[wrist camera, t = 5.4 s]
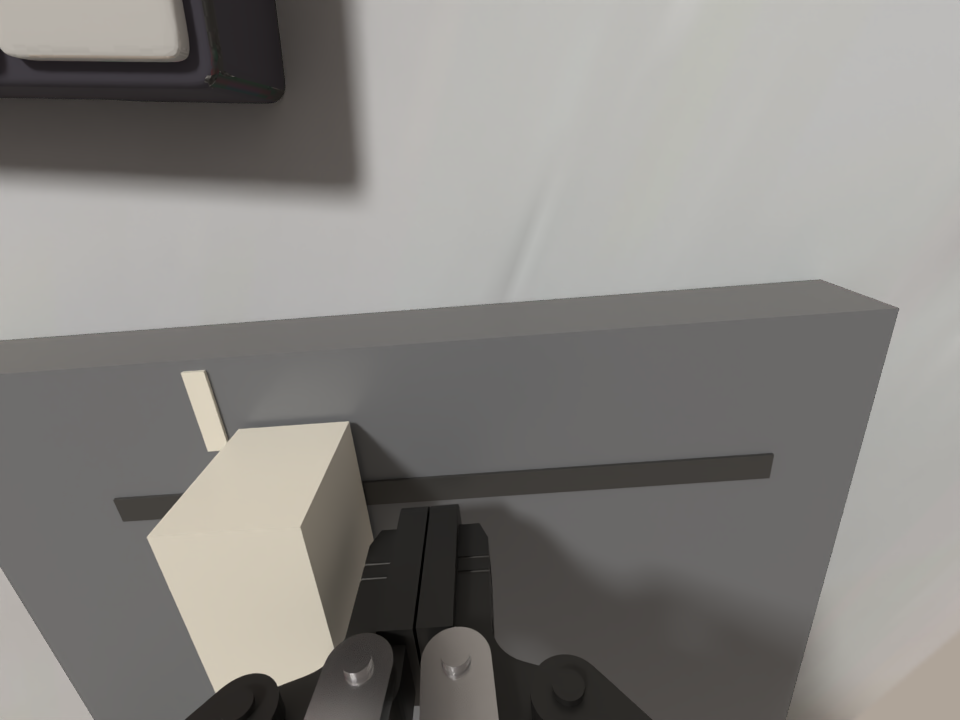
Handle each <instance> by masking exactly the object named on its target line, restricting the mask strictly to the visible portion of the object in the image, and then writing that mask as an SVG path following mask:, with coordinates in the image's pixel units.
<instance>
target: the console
mask: <svg viewBox="0 0 960 720" xmlns="http://www.w3.org/2000/svg"><path fill="white" fill-rule="evenodd" d="M898 311H899V308H897V307H894V306H892V305H889V304H886V303H883V302H881V301H878V300H875V299H873V298H870V297H867V296H864V295H862V294H859V293H856V292H853V291H851V290H848V289H845V288H842V287H840V286H837V285H834V284H831V283H829V282H826V281H823V280H808V281H795V282H781V283H768V284H754V285H741V286H727V287H714V288H701V289H687V290H674V291H660V292H647V293H634V294H620V295H607V296H593V297H580V298H566V299H553V300H540V301H526V302H513V303H499V304H486V305H472V306H459V307H446V308H432V309H419V310H405V311H392V312H378V313H365V314H352V315H338V316H325V317H311V318H298V319H285V320H271V321H258V322H244V323H231V324H217V325H204V326H191V327H177V328H164V329H150V330H137V331H123V332H110V333H97V334H83V335H70V336H56V337H43V338H29V339H16V340H3V341H0V567H1V569H2V570H3V572H4V574H5V575H6V577H7V578H8V580H9V582H10V583H11V585H12V587H13V588H14V590H15V591H16V593H17V595H18V596H19V598H20V600H21V601H22V603H23V605H24V606H25V608H26V609H27V611H28V613H29V614H30V616H31V618H32V619H33V621H34V622H35V624H36V626H37V627H38V629H39V631H40V632H41V634H42V636H43V637H44V639H45V640H46V642H47V644H48V645H49V647H50V649H51V650H52V652H53V653H54V655H55V657H56V658H57V660H58V662H59V663H60V665H61V666H62V668H63V670H64V671H65V673H66V675H67V676H68V678H69V680H70V681H71V683H72V684H73V686H74V688H75V689H76V691H77V693H78V694H79V696H80V697H81V699H82V701H83V702H84V704H85V706H86V707H87V709H88V711H89V712H90V714H91V715H92V717H93V719H94V720H185V719H186V718H187V717H188V716H190V715H191V714H192V713H193V712H194V711H195V710H197V709H198V708H199V707H200V706H201V705H202V704H204V703H205V702H206V701H207V700H208V699H209V698H211V697H212V696H213V695H214V694H215V691H214V688H213V686H212V684H211V682H210V679H209V677H208V675H207V673H206V670H205V668H204V666H203V664H202V661H201V659H200V657H199V655H198V652H197V650H196V648H195V645H194V643H193V641H192V639H191V636H190V634H189V632H188V630H187V627H186V625H185V623H184V621H183V618H182V616H181V614H180V612H179V609H178V607H177V605H176V603H175V600H174V598H173V596H172V593H171V591H170V589H169V587H168V584H167V582H166V580H165V578H164V575H163V573H162V571H161V569H160V566H159V564H158V562H157V560H156V557H155V555H154V553H153V550H152V548H151V546H150V544H149V541H148V539H147V536H148V535H149V534H150V532H151V531H152V530H153V529H154V528H155V527H156V525H157V524H158V523H159V522H160V521H161V520H162V518H163V517H164V516H165V515H166V514H167V513H168V511H169V510H170V509H171V508H172V507H173V505H174V504H175V503H176V502H177V501H178V500H179V498H180V497H181V496H182V495H183V494H184V493H185V491H186V490H187V489H188V488H189V487H190V486H191V484H192V483H193V482H194V481H195V480H196V478H197V477H198V476H199V475H200V474H201V473H202V471H203V470H204V469H205V468H206V467H207V466H208V464H209V463H210V462H211V461H212V460H213V458H214V457H215V456H216V455H217V454H218V453H219V451H220V450H221V449H222V448H223V447H224V446H225V444H226V443H227V442H228V441H229V440H230V439H231V437H232V436H233V435H234V434H235V433H236V431H237V430H238V429H246V428H260V427H275V426H289V425H303V424H317V423H331V422H345V421H349V423H350V428H351V433H352V437H353V442H354V447H355V452H356V457H357V462H358V467H359V471H360V476H361V481H362V486H363V491H364V496H365V500H366V505H367V510H368V515H369V520H370V525H371V530H372V534H373V539H374V540H375V538H376V537H377V536H378V534H379V533H380V532H381V530H392V529H397V525H398V520H399V516H400V511H401V509H402V508H411V507H425V506H430V508H431V506H437V505H451V504H459V507H460V514H461V522H462V524H474V523H480V525H481V526H482V528H483V530H484V531H485V533H486V535H487V536H488V541H489V552H490V562H491V573H492V586H493V609H494V631H495V640H496V642H497V643H498V645H499V646H500V647H501V648H502V649H503V650H504V651H505V652H506V653H507V654H509V655H510V656H512V657H514V658H516V659H518V660H521V661H524V662H528V663H532V664H535V665H540V664H541V663H542V662H543V661H544V660H546V659H548V658H550V657H552V656H555V655H561V654H568V655H574V656H577V657H580V658H582V659H584V660H586V661H588V662H589V663H590V664H592V665H593V666H594V667H595V668H596V669H597V670H598V671H600V672H601V673H602V674H603V675H604V676H605V677H606V678H607V679H608V680H609V681H611V682H612V683H613V684H614V685H615V686H616V687H617V688H618V689H619V690H620V691H622V692H623V693H624V694H625V695H626V696H627V697H628V698H629V699H630V700H631V701H633V702H634V703H635V704H636V705H637V706H638V707H639V708H640V709H641V710H642V711H644V712H645V713H646V714H647V715H648V716H649V717H650V718H651V719H652V720H786V717H787V713H788V710H789V706H790V702H791V699H792V695H793V691H794V688H795V684H796V681H797V677H798V673H799V670H800V666H801V662H802V659H803V655H804V652H805V648H806V644H807V641H808V637H809V633H810V630H811V626H812V623H813V619H814V615H815V612H816V608H817V604H818V601H819V597H820V594H821V590H822V586H823V583H824V579H825V575H826V572H827V568H828V565H829V561H830V557H831V554H832V550H833V546H834V543H835V539H836V536H837V532H838V528H839V525H840V521H841V517H842V514H843V510H844V507H845V503H846V499H847V496H848V492H849V488H850V485H851V481H852V478H853V474H854V470H855V467H856V463H857V459H858V456H859V452H860V449H861V445H862V441H863V438H864V434H865V431H866V427H867V423H868V420H869V416H870V412H871V409H872V405H873V402H874V398H875V394H876V391H877V387H878V383H879V380H880V376H881V373H882V369H883V365H884V362H885V358H886V354H887V351H888V347H889V344H890V340H891V336H892V333H893V329H894V325H895V322H896V318H897V315H898ZM419 713H420V706H414V712H413V720H419Z"/></svg>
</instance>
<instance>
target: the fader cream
mask: <svg viewBox="0 0 960 720" xmlns="http://www.w3.org/2000/svg"><path fill="white" fill-rule="evenodd" d="M147 539H148V541H149V544H150V546H151V548H152V550H153V553H154V555H155V557H156V560H157V562H158V564H159V566H160V569H161V571H162V573H163V575H164V578H165V580H166V582H167V584H168V587H169V589H170V591H171V593H172V596H173V598H174V600H175V603H176V605H177V607H178V609H179V612H180V614H181V616H182V618H183V621H184V623H185V625H186V627H187V630H188V632H189V634H190V636H191V639H192V641H193V643H194V645H195V648H196V650H197V652H198V655H199V657H200V659H201V661H202V664H203V666H204V668H205V670H206V673H207V675H208V677H209V679H210V682H211V684H212V686H213V688H214V691H215V693H217V692H218V691H219V690H220V689H221V688H223V687H224V686H225V685H226V684H228V683H229V682H231V681H233V680H234V679H237V678H239V677H241V676H244V675H247V674H252V673H261V674H266V675H268V676H270V677H271V678H273V679H274V681H275V682H276V684H277V686H280V685H283V684H286V683H288V682H291V681H293V680H296V679H299V678H301V677H304V676H306V675H309V674H311V673H313V672H315V671H317V670H318V669H320V668H321V667H323V666H324V663H325V661H326V659H327V657H328V656H329V654H330V653H331V652H332V650H333V649H334V648H335V647H336V646H337V645H338V644H340V643H341V642H342V641H344V639H345V636H346V633H347V629H348V625H349V622H350V618H351V614H352V610H353V607H354V603H355V599H356V595H357V591H358V588H359V584H360V581H361V576H362V573H363V569H364V567H365V561H366V558H367V554H368V550H369V546H370V545H371V543H372V542H373V541H374V539H373V534H372V530H371V525H370V520H369V515H368V510H367V505H366V500H365V496H364V491H363V486H362V481H361V476H360V471H359V467H358V462H357V457H356V452H355V447H354V442H353V437H352V433H351V428H350V423H349V421H345V422H331V423H317V424H303V425H289V426H275V427H260V428H246V429H238V430H237V431H236V433H235V434H234V435H233V436H232V437H231V439H230V440H229V441H228V442H227V443H226V444H225V446H224V447H223V448H222V449H221V450H220V451H219V453H218V454H217V455H216V456H215V457H214V458H213V460H212V461H211V462H210V463H209V464H208V466H207V467H206V468H205V469H204V470H203V471H202V473H201V474H200V475H199V476H198V477H197V478H196V480H195V481H194V482H193V483H192V484H191V486H190V487H189V488H188V489H187V490H186V491H185V493H184V494H183V495H182V496H181V497H180V498H179V500H178V501H177V502H176V503H175V504H174V505H173V507H172V508H171V509H170V510H169V511H168V513H167V514H166V515H165V516H164V517H163V518H162V520H161V521H160V522H159V523H158V524H157V525H156V527H155V528H154V529H153V530H152V531H151V532H150V534H149V535H148V536H147Z"/></svg>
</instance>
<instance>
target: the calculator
mask: <svg viewBox="0 0 960 720" xmlns="http://www.w3.org/2000/svg"><path fill="white" fill-rule="evenodd" d="M284 91H285V78H284V69H283V60H282V52H281V44H280V36H279V28H278V20H277V11H276V3H275V0H0V98H48V99H105V100H126V101H155V102H207V103H274V102H277V101H278V100H280V99H281V98H282V96H283V94H284Z"/></svg>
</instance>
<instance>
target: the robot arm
mask: <svg viewBox="0 0 960 720" xmlns="http://www.w3.org/2000/svg"><path fill="white" fill-rule="evenodd" d="M414 706H420V713H419V720H652V719H651V718H650V717H649V716H648V715H647V714H646V713H645V712H644V711H642V710H641V709H640V708H639V707H638V706H637V705H636V704H635V703H634V702H633V701H631V700H630V699H629V698H628V697H627V696H626V695H625V694H624V693H623V692H622V691H620V690H619V689H618V688H617V687H616V686H615V685H614V684H613V683H612V682H611V681H609V680H608V679H607V678H606V677H605V676H604V675H603V674H602V673H601V672H600V671H598V670H597V669H596V668H595V667H594V666H593V665H592V664H590V663H589V662H588V661H586V660H584V659H582V658H580V657H577V656H574V655H568V654H561V655H555V656H552V657H550V658H548V659H546V660H544V661H543V662H542V663H541V664H540V665H535V664H532V663H528V662H524V661H521V660H518V659H516V658H514V657H512V656H510V655H509V654H507V653H506V652H505V651H504V650H503V649H502V648H501V647H500V646H499V645H498V643H497V642H496V640H495V631H494V609H493V586H492V573H491V562H490V552H489V541H488V536H487V535H486V533H485V531H484V530H483V528H482V526H481V525H480V523H474V524H462V522H461V514H460V507H459V504H451V505H437V506H431V508H430V506H425V507H411V508H402V509H401V511H400V516H399V520H398V525H397V529H392V530H381V532H380V533H379V534H378V536H377V537H376V538H375V540H374V541H373V542H372V543H371V545H370V546H369V550H368V554H367V558H366V561H365V567H364V569H363V573H362V576H361V581H360V584H359V588H358V591H357V595H356V599H355V603H354V607H353V610H352V614H351V618H350V622H349V625H348V629H347V633H346V636H345V639H344V641H342V642H341V643H340V644H338V645H337V646H336V647H335V648H334V649H333V650H332V652H331V653H330V654H329V656H328V657H327V659H326V661H325V663H324V666H323V667H321V668H320V669H318V670H317V671H315V672H313V673H311V674H309V675H306V676H304V677H301V678H299V679H296V680H293V681H291V682H288V683H286V684H283V685H280V686H277V684H276V682H275V681H274V679H273V678H271V677H270V676H268V675H266V674H261V673H252V674H247V675H244V676H241V677H239V678H237V679H234V680H233V681H231V682H229V683H228V684H226V685H225V686H224V687H223V688H221V689H220V690H219V691H218V692H217V693H215V694H214V695H213V696H212V697H211V698H209V699H208V700H207V701H206V702H205V703H204V704H202V705H201V706H200V707H199V708H198V709H197V710H195V711H194V712H193V713H192V714H191V715H190V716H188V717H187V718H186V719H185V720H413V712H414Z"/></svg>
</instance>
